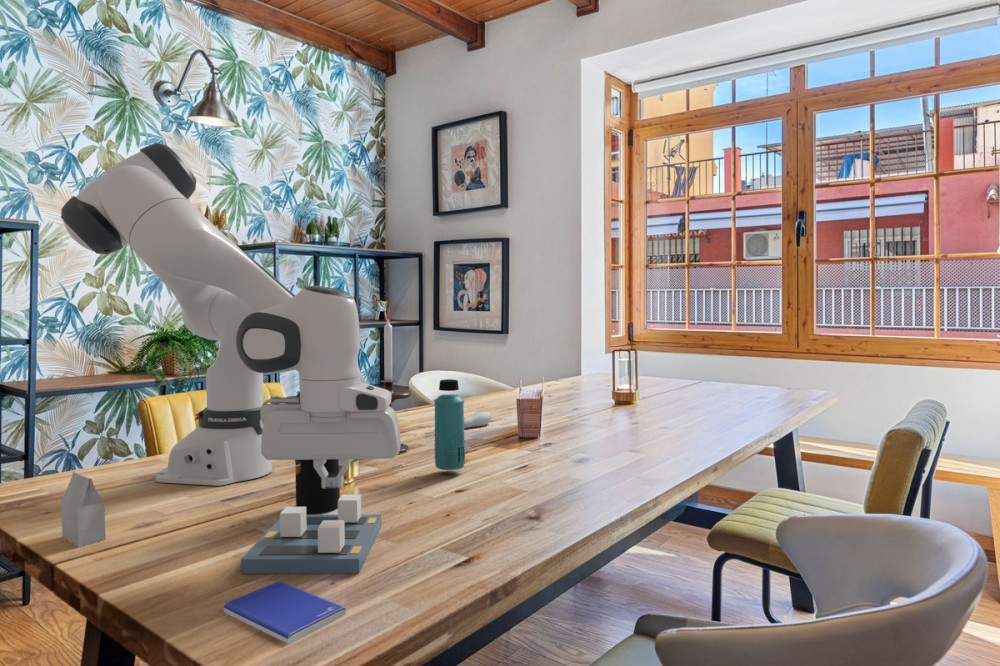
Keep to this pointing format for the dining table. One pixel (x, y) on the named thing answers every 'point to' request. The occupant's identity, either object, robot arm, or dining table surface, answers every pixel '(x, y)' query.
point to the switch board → (312, 549)
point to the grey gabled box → (82, 512)
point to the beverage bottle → (449, 428)
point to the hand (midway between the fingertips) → (332, 487)
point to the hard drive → (284, 611)
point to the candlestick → (388, 371)
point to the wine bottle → (315, 487)
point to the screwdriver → (474, 420)
